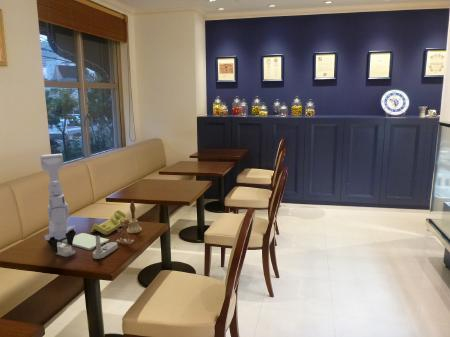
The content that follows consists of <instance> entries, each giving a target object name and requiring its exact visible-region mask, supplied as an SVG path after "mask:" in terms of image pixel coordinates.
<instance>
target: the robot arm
mask: <svg viewBox="0 0 450 337" xmlns="http://www.w3.org/2000/svg"><path fill="white" fill-rule="evenodd" d="M40 166H41V169H42V170H43V171H47V173H48V175H49V176H48V177H49V183H48V184H47V187H48V195H49V198H48V205H47V217H48V221H49V222H48V232H49V233H47V234H45V235H44V240H45V241H46V242H47V243H48V245H49V246H50V248H51V250H52V252H53V253H54V254H56V253H57V252H58V250H57V243H58V241H60V240H64V239H65V238H66V239H67V244H68V245H71V246H72V247H73V245H72V244H73V239H74V236H76V235H77V232H76V230H77V229H76V228H77V226H76V225H69V226H68V224H69V222H68V219H69V218H70V210H69V205H68V203H67V202H66V199H65V198H66V197H65V195H64V192H63V184H62V182H61V181H60V177H59V171H60V170H61V169H64V158H63V153H62V152H61V153H54V154H53V153H52V154H51V153H50V154H41V155H40Z"/></svg>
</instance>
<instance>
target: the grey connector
mask: <svg viewBox="0 0 450 337" xmlns="http://www.w3.org/2000/svg"><path fill="white" fill-rule="evenodd" d="M57 250H58V252H57V253H55V254H56V255H59V256H62V257H67V258H68V257H71V256H73V255H74V254H76V250H75V249H74V250H73V245H72V246H71V245H68V244H66V243H63V242H60V241H59V242H58V241H57Z"/></svg>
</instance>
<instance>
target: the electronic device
mask: <svg viewBox="0 0 450 337" xmlns="http://www.w3.org/2000/svg"><path fill="white" fill-rule="evenodd" d="M95 236H96V249H95V250H94V251H93V252H92V257H93V259H95V260H100V259H102V258H105V257H106V256H108V255H110V254H111V253H113V252H114V251H116V250H117V249H118V248H119V245H118V244H119V243H116V241H109V242H107V243H105V244H103V246H102V245H101V243H100V237H101V236H100V235H95Z"/></svg>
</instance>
